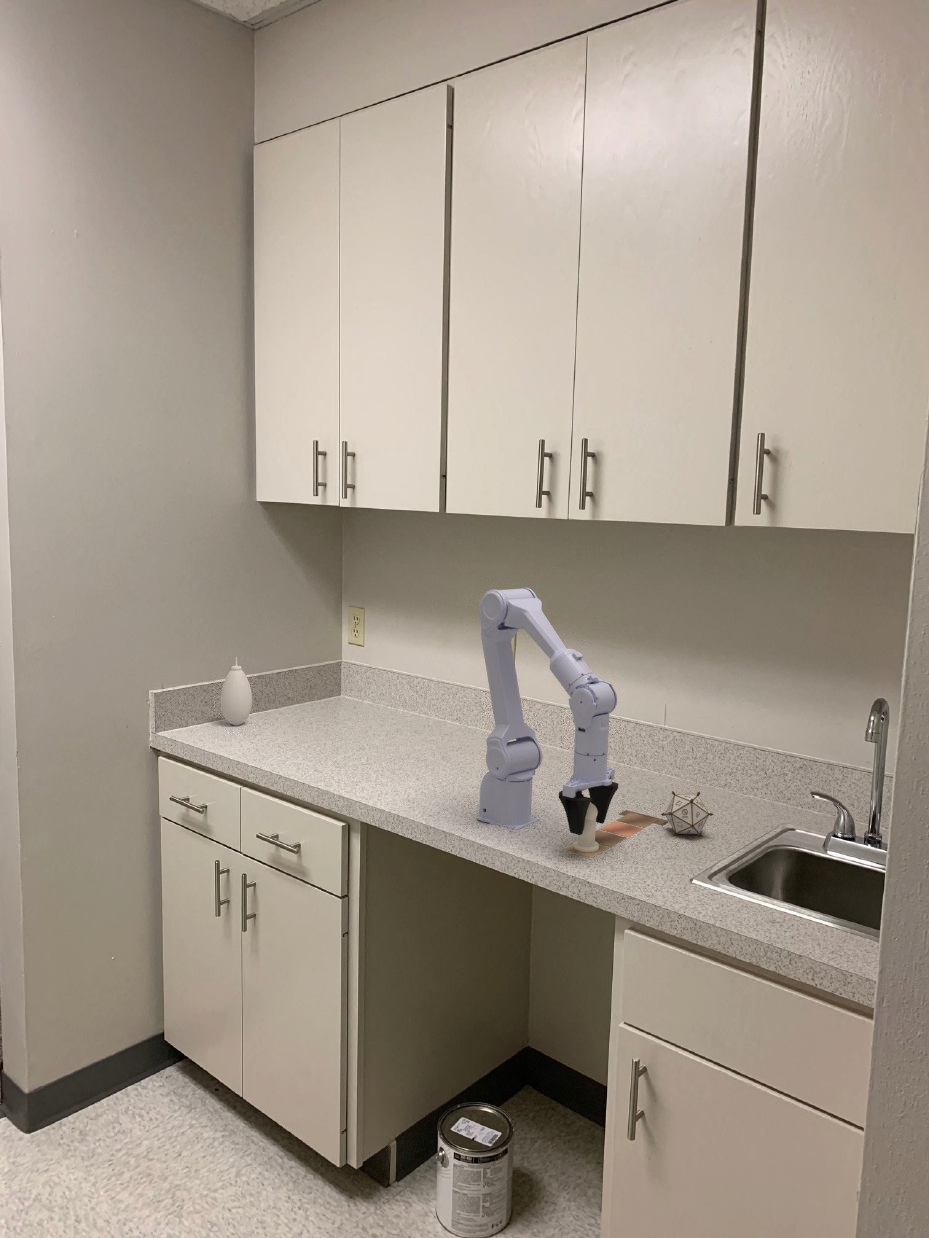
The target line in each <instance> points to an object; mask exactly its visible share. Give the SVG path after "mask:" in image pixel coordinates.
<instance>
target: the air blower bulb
mask: <svg viewBox="0 0 929 1238" xmlns="http://www.w3.org/2000/svg"><path fill="white" fill-rule="evenodd" d="M230 669H231V670H229V672H228V673H227V674H226V676H225V679H224V681H223V683H222V688H221V691H220V710H221V713H222V715H223V717H224V719H225V720H226V721H228V724H230V725H233V726H240V725H242V724H244V721H246V720H247V719H248V718H249V716H250V714H251V712H252V708H253V707H252V706H253V693H252V689H251V685H250V682H249V679H248V677H247V675H246V673H245V672H244V670H243V669H242V666H241V665H238V656H235V665H232V666H231V667H230Z"/></svg>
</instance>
